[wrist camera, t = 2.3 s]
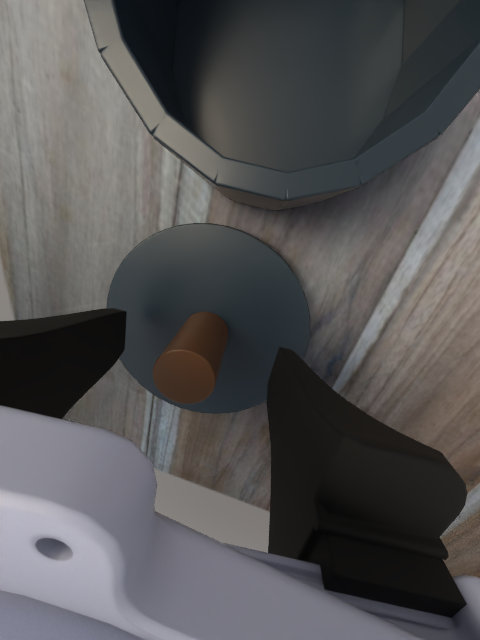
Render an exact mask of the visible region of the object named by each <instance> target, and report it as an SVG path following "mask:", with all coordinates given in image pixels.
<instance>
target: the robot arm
mask: <svg viewBox="0 0 480 640" xmlns="http://www.w3.org/2000/svg"><path fill="white" fill-rule="evenodd" d="M126 316H127V311H123V310H119V309H115V308H107V309H98V310H92V311H85V312H79V313H73V314H67V315H60V316H53V317H45V318H38V319H28V320H15V321H0V640H480V578H479V577H475V576H471V575H459V576H454V577H453V578H452V576H451V574H450V572H449V570H448V569H447V567H446V565H445V563H444V561H443V560H442V559H444V560H446V559H447V558H448V551H447V550H446V548H445V546H444V544H443V543H442V541H441V539H440V536H441V535H442V533H443V532H444V531H445V530H446V529H447V528H448V527H449V525H450V524H451V523H452V522H453V521H454V520H455V519H456V517H457V516H458V515H459V514H460V512H461V511H462V509H463V507H464V506H465V502H466V497H467V490H466V485H465V483H464V481H463V480H462V479H461V477H460V476H459V474H458V473H457V472H456V471H455V469H454V468H453V467H452V465H451V464H450V463H449V462H448V460H447V459H446V458H445V456H444V455H443V454H442V453H441V452H439V451H437V450H435V449H433V448H431V447H429V446H426V445H424V444H422V443H420V442H418V441H416V440H414V439H412V438H409V437H407V436H405V435H403V434H401V433H399V432H398V431H396V430H394V429H392V428H390V427H388V426H387V425H385V424H383V423H381V422H379V421H378V420H376V419H374V418H373V417H371V416H369V415H368V414H366V413H365V412H363V411H362V410H360V409H359V408H357V407H356V406H354V405H353V404H351V403H350V402H348V401H347V400H346V399H345V398H343V397H342V396H341V395H339V394H338V393H337V392H335V391H334V390H333V389H332V388H331V387H329V386H328V385H327V384H326V383H325V382H324V381H323V380H322V379H321V378H320V377H319V376H318V375H317V374H315V373H314V372H313V371H312V369H311V368H310V367H309V366H308V365H307V364H306V363H305V362H304V361H303V360H302V359H301V358H300V357H299V356H298V355H297V354H296V353H295V352H294V351H293V350H291V349H287V348H282V347H279V349H278V352H277V355H276V358H275V361H274V365H273V368H272V371H271V374H270V377H269V380H268V386H267V410H268V421H269V431H270V442H271V500H270V525H269V547H268V553H266V552H261V551H257V550H252V549H248V548H243V547H239V546H234V545H230V544H225V543H221V542H219V541H217V540H215V539H213V538H210V537H208V536H206V535H204V534H202V533H200V532H197V531H195V530H194V529H191V528H189V527H187V526H185V525H183V524H181V523H179V522H177V521H174V520H172V519H170V518H168V517H166V516H164V515H162V514H160V513H158V512H155V509H154V503H155V495H156V488H157V482H156V478H155V474H154V469H153V465H152V462H151V460H150V459H149V458H148V457H147V456H146V455H145V454H144V453H143V452H142V451H141V449H140V448H139V447H138V446H137V445H136V444H135V443H134V442H133V441H132V440H129V439H127V438H125V437H123V436H120V435H118V434H116V433H113V432H111V431H109V430H106V429H103V428H98V427H94V426H89V425H85V424H81V423H76V422H72V421H67V420H63V419H62V418H63V417H64V416H65V414H66V413H67V412H68V411H69V410H70V408H71V407H72V406H73V405H74V404H75V403H76V402H77V401H78V400H79V399H80V398H81V397H82V396H83V395H84V394H85V393H86V392H87V391H88V390H89V389H90V388H91V387H92V386H93V385H94V384H95V383H96V382H97V381H98V380H99V379H100V378H101V377H102V376H103V375H104V374H105V373H106V372H107V371H108V370H109V369H110V368H111V367H112V366H113V365H114V364H115V363H116V361H117V360H118V359H119V357H120V356H121V354H122V353H123V352H124V350H125V336H126Z"/></svg>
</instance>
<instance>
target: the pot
mask: <svg viewBox="0 0 480 640" xmlns="http://www.w3.org/2000/svg"><path fill="white" fill-rule="evenodd" d="M84 3H85V6H86V10H87V13H88V17H89V20H90V24H91V27H92V31H93V34H94V38H95V41H96V45H97V48H98V51H99V52H100V54H101V57H102V59H103V60H104V62H105V64H106V65H107V67H108V68H109V70H110V71H111V73H112V75H113V76H114V78H115V79H116V81H117V83H118V84H119V86H120V87H121V89H122V90H123V92H124V94H125V95H126V97H127V98H128V100H129V101H130V103H131V105H132V106H133V108H134V109H135V111H136V113H137V114H138V116H139V117H140V119H141V120H142V122H143V124H144V125H145V127H146V128H147V130H148V132H149V133H150V134H151V135H152V136H153V137H154V139H155V140H157V141H158V142H159V143H160V144H161V145H163V146H164V147H165V148H166V149H168V150H169V151H170V152H171V153H172V154H174V155H175V156H176V157H177V158H178V159H180V160H181V161H182V162H183V163H185V164H186V165H187V166H188V167H189V168H191V169H192V170H193V171H194V172H195V173H197V174H198V175H199V176H201V177H202V178H203V179H204V180H206V181H207V182H208V183H210V184H211V185H212V186H214V187H215V188H216V189H218V190H219V191H220V192H221V193H223V194H224V195H225V196H227V197H228V198H229V199H231V200H233V201H235V202H239V203H243V204H247V205H250V206H253V207H259V208H264V209H268V210H273V211H274V210H276V211H277V210H283V209H288V208H294V207H299V206H303V205H308V204H313V203H318V202H321V201H323V200H326V199H329V198H331V197H334V196H337V195H339V194H342V193H344V192H347V191H350V190H352V189H355V188H358V187H360V186H363V185H365V184H366V183H368V182H369V181H371V180H373V179H374V178H376V177H377V176H379V175H380V174H382V173H384V172H385V171H387V170H388V169H390V168H391V167H393V166H394V165H396V164H398V163H399V162H401V161H402V160H404V159H405V158H407V157H409V156H410V155H412V154H413V153H415V152H416V151H418V150H420V149H421V148H423V147H424V146H426V145H427V144H429V143H431V142H432V141H434V140H435V139H437V138H438V136H440V135H442V133H443V132H444V131H445V130H446V129H447V127H448V126H449V125H450V124H451V123H452V121H453V120H454V119H455V118H456V117H457V116H458V114H459V113H460V112H461V111H462V110H463V108H464V107H465V106H466V105H467V104H468V103H469V101H470V100H471V99H472V98H473V97H474V95H475V94H476V93H477V92H478V91H479V89H480V0H84Z"/></svg>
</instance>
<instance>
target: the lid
mask: <svg viewBox="0 0 480 640" xmlns="http://www.w3.org/2000/svg"><path fill="white" fill-rule="evenodd" d="M107 308H115V309H119V310H123V311H127V316H126V336H125V350H124V352H123V353H122V354H121V356H120V357H119V358H120V360H121V361H122V363H123V365H124V366H125V368H126V369H127V370H128V371H129V373H130V374H131V375H132V376H133V377H134V378H135V379H136V380H137V381H138V382H139V383H140V384H141V385H142V386H143V387H144V388H146V389H147V390H148V391H149V392H151V393H152V394H154V395H155V396H157V397H158V398H160V399H162V400H164V401H166V402H168V403H170V404H172V405H175V406H177V407H180V408H183V409H187V410H190V411H195V412H201V413H213V414H218V413H231V412H237V411H241V410H245V409H249V408H251V407H254V406H256V405H259V404H261V403H262V402H264V401H266V400H267V386H268V380H269V377H270V374H271V371H272V368H273V365H274V361H275V358H276V355H277V352H278V349H279V347H282V348H287V349H291V350H293V351H294V352H295V353H296V354H297V355H298V356H299V357H300V358H301V359H302V360H303V358H304V356H305V353H306V350H307V346H308V342H309V334H310V316H309V310H308V304H307V301H306V298H305V294H304V292H303V289H302V287H301V285H300V283H299V281H298V279H297V277H296V276H295V274H294V273H293V271H292V270H291V268H290V267H289V265H288V264H287V263H286V262H285V261H284V260H283V259H282V258H281V256H280V255H279V254H278V253H276V252H275V251H274V250H273V249H272V248H271V247H269V246H268V245H267V244H265V243H264V242H262V241H261V240H259V239H258V238H256V237H254V236H252V235H250V234H248V233H246V232H244V231H241V230H238V229H235V228H232V227H229V226H224V225H218V224H207V223H193V224H185V225H179V226H175V227H171V228H168V229H165V230H163V231H160V232H158V233H156V234H154V235H152V236H150V237H149V238H147V239H145V240H144V241H142V242H141V243H140V244H139V245H137V246H136V247H135V248H134V249H133V250H132V251H131V252H130V253H129V254H128V255H127V257H126V258H125V259H124V260H123V261H122V263H121V265H120V266H119V268H118V270H117V271H116V273H115V275H114V278H113V280H112V283H111V286H110V290H109V294H108V299H107Z"/></svg>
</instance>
